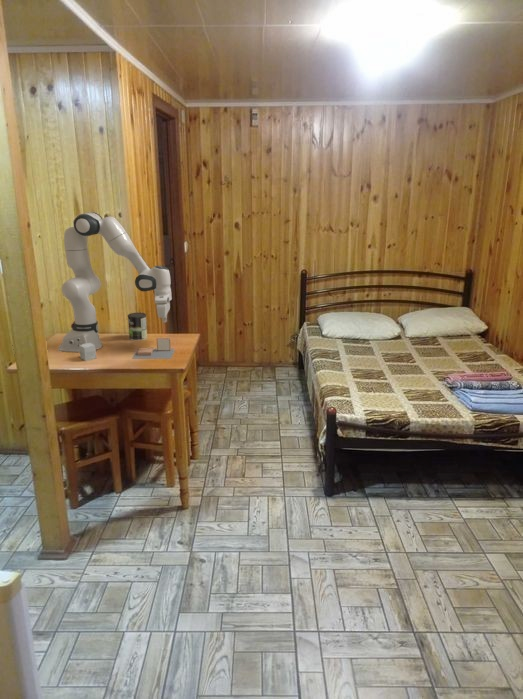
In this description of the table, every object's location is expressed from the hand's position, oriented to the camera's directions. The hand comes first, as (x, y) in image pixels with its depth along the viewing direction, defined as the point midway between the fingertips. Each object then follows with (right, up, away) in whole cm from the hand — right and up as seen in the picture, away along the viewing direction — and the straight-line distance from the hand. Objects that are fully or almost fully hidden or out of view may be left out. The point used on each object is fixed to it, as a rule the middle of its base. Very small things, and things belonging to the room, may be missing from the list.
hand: (165, 321), depth 265 cm
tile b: (0, -15, -1) cm, 15 cm away
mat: (-5, -17, -6) cm, 19 cm away
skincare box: (-37, -20, -13) cm, 44 cm away
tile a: (-9, -15, -3) cm, 18 cm away
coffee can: (-19, -9, +20) cm, 29 cm away
